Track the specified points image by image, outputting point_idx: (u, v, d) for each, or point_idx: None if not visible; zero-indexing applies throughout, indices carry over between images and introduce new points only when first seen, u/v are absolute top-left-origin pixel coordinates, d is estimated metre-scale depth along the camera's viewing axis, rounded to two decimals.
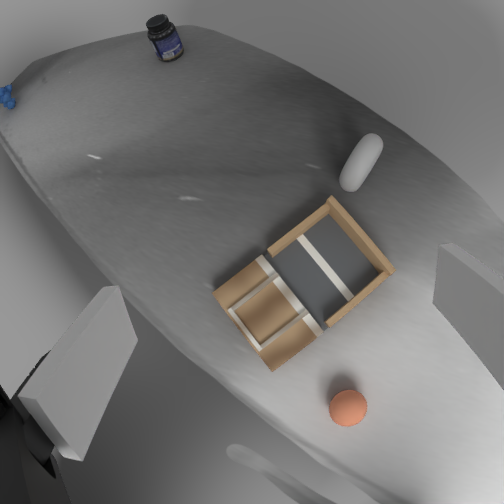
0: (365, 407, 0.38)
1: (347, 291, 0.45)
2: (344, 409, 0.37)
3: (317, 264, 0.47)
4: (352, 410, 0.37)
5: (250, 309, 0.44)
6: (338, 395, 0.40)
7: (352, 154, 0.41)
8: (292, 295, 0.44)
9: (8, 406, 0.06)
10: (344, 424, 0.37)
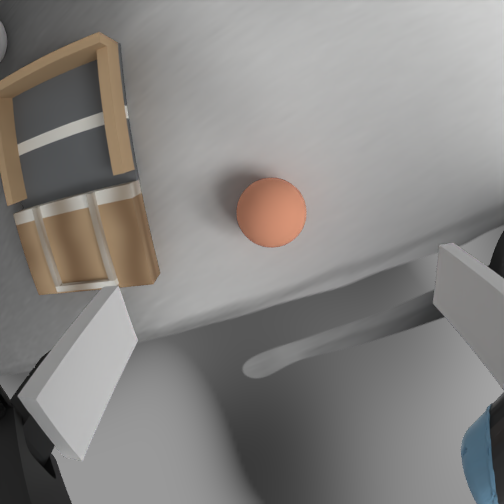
0: (283, 190, 0.23)
1: (103, 115, 0.24)
2: (259, 228, 0.23)
3: (53, 142, 0.25)
4: (269, 218, 0.22)
5: (65, 263, 0.27)
6: (237, 217, 0.25)
7: None
8: (65, 202, 0.25)
9: (8, 406, 0.06)
10: (289, 239, 0.24)
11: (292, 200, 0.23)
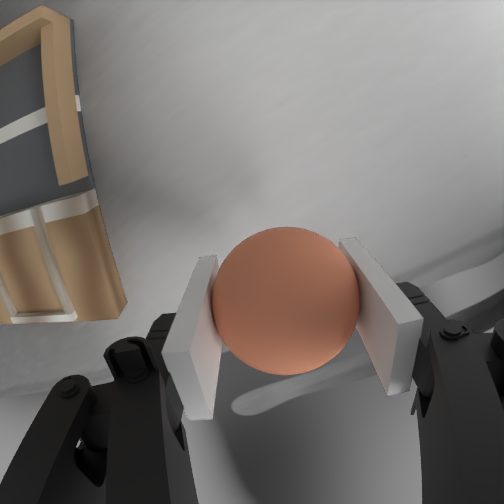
0: (321, 268, 0.09)
1: None
2: (262, 356, 0.10)
3: None
4: (287, 338, 0.09)
5: (17, 291, 0.20)
6: (213, 314, 0.11)
7: None
8: (10, 219, 0.18)
9: (152, 369, 0.07)
10: (324, 362, 0.11)
11: (340, 291, 0.09)
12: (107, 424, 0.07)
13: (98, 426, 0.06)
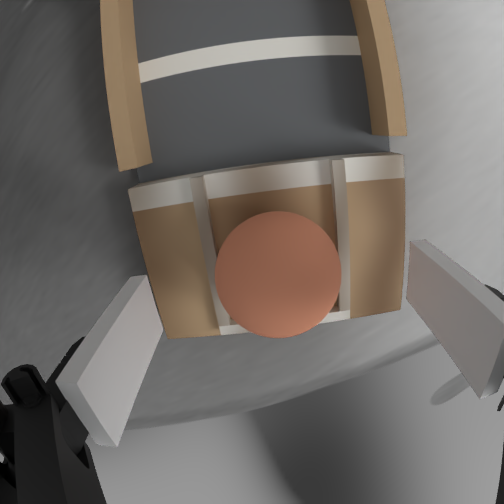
0: (302, 243, 0.12)
1: (337, 41, 0.14)
2: (252, 316, 0.12)
3: (230, 64, 0.15)
4: (271, 300, 0.11)
5: None
6: (215, 283, 0.14)
7: None
8: (273, 170, 0.15)
9: (45, 394, 0.06)
10: (308, 328, 0.13)
11: (318, 263, 0.11)
12: (13, 441, 0.05)
13: (7, 442, 0.05)
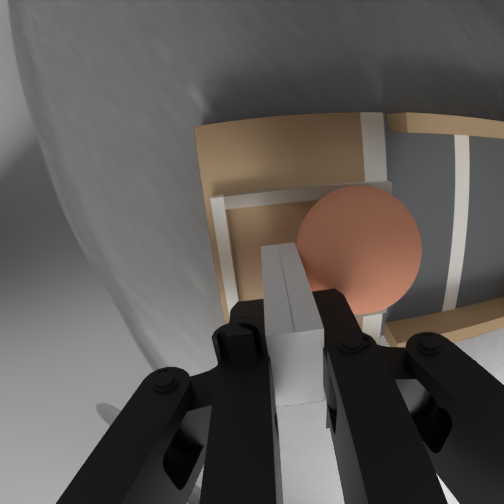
0: None
1: (454, 294, 0.19)
2: (385, 214, 0.11)
3: (453, 213, 0.17)
4: (408, 230, 0.11)
5: (270, 225, 0.16)
6: (349, 186, 0.13)
7: None
8: None
9: (261, 356, 0.07)
10: (364, 283, 0.11)
11: (417, 272, 0.12)
12: (209, 417, 0.07)
13: (198, 420, 0.07)
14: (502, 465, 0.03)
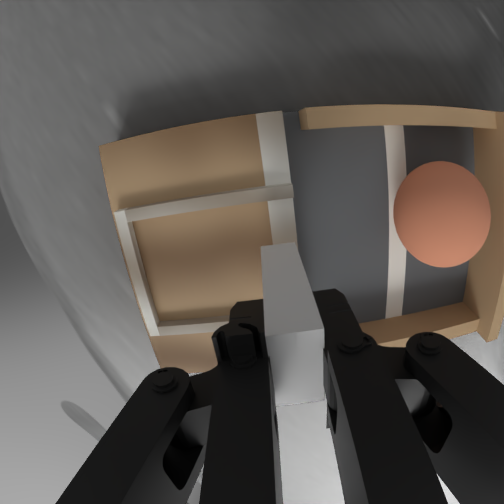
0: (414, 230, 0.13)
1: (398, 300, 0.19)
2: (408, 174, 0.14)
3: (388, 213, 0.17)
4: (400, 189, 0.14)
5: (173, 235, 0.16)
6: (454, 163, 0.13)
7: None
8: None
9: (261, 356, 0.07)
10: None
11: (402, 233, 0.14)
12: (209, 417, 0.07)
13: (198, 421, 0.07)
14: (502, 465, 0.03)
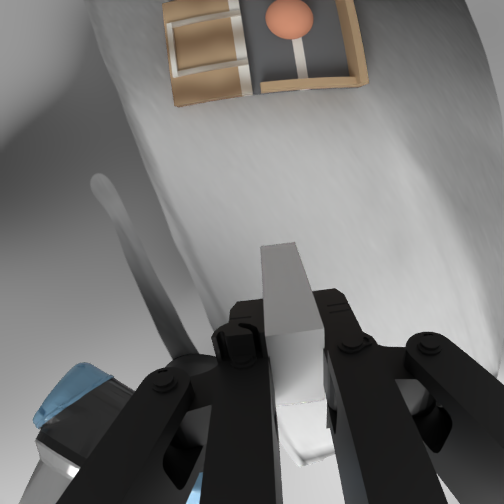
0: None
1: (304, 72, 0.33)
2: None
3: None
4: None
5: (190, 32, 0.30)
6: None
7: None
8: (242, 39, 0.30)
9: (261, 356, 0.07)
10: None
11: None
12: (209, 417, 0.07)
13: (198, 420, 0.07)
14: (502, 465, 0.03)
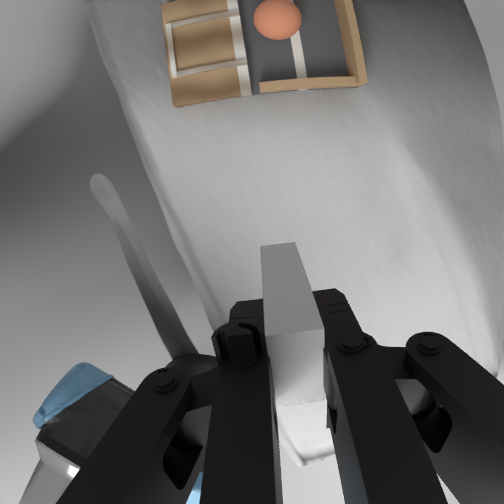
0: None
1: (303, 72, 0.33)
2: None
3: None
4: None
5: (189, 33, 0.30)
6: None
7: None
8: (241, 39, 0.30)
9: (261, 356, 0.07)
10: None
11: None
12: (209, 417, 0.07)
13: (198, 420, 0.07)
14: (502, 465, 0.03)
